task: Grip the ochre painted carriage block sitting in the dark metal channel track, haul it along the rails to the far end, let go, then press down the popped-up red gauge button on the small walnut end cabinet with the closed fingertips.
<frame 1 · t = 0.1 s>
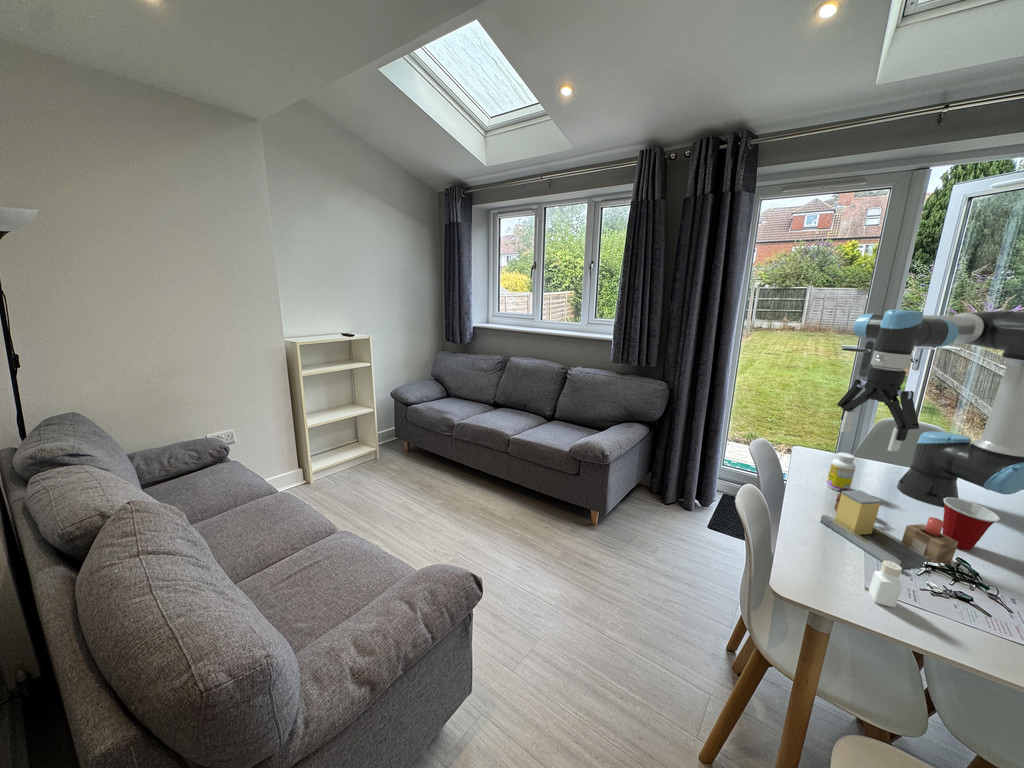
hand: (867, 440, 115), 28 cm above the table, fingers open, 13 cm apart
carriage: (856, 512, 118), point 6 cm above the table, slide at 0.0 cm
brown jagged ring: (849, 512, 130), on the table
gauge button: (934, 526, 107), point 9 cm above the table, slide at 0.0 cm
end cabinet: (924, 556, 109), on the table
plastic cup: (957, 545, 115), on the table
pepper shaker: (880, 601, 93), on the table
track: (870, 542, 114), on the table
supplement bottle: (837, 488, 146), on the table
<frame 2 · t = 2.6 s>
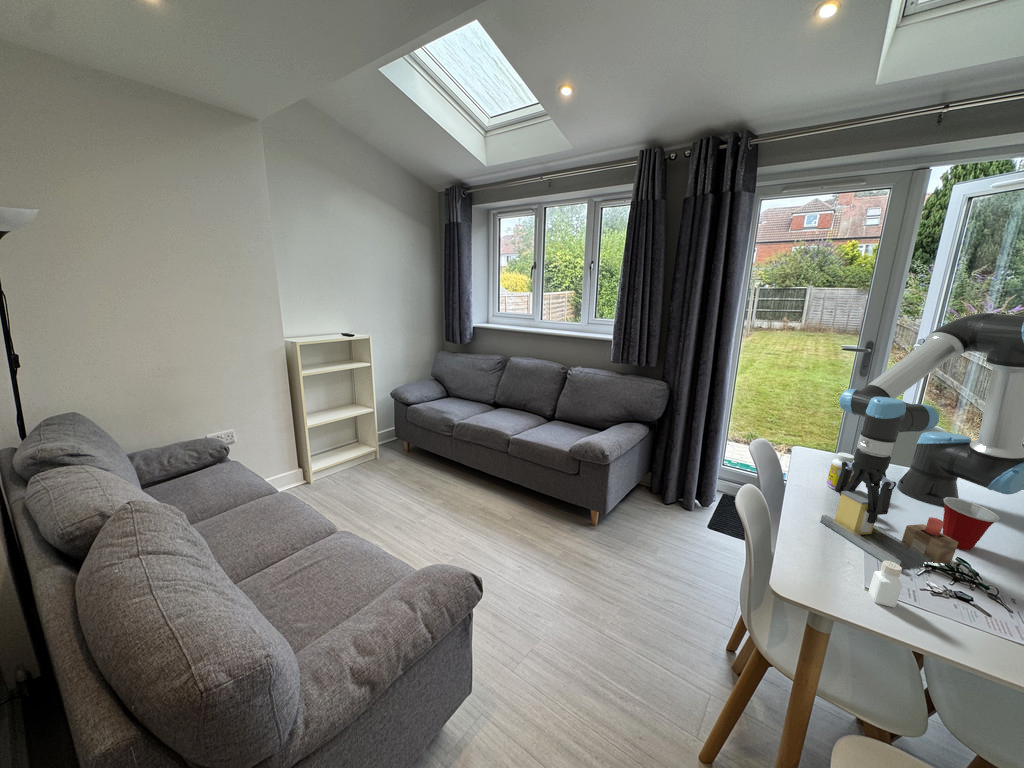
hand: (853, 524, 119), 2 cm above the table, fingers closed on carriage, 6 cm apart
carriage: (856, 512, 118), point 6 cm above the table, slide at 0.0 cm, touching gripper
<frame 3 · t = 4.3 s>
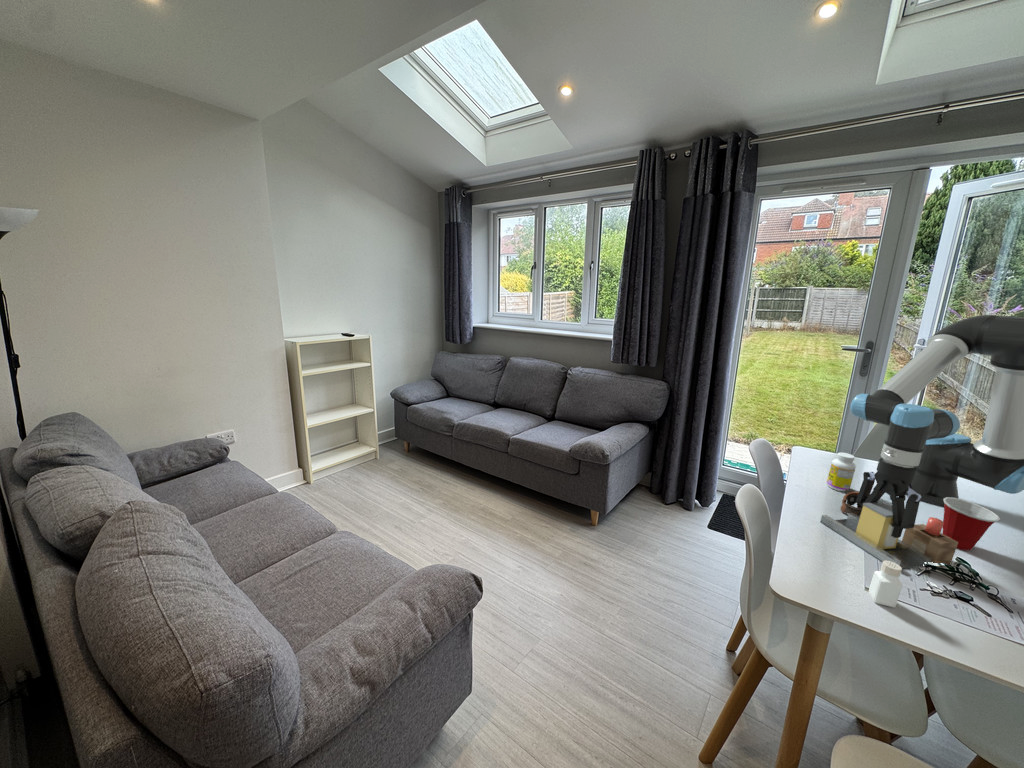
hand: (875, 537, 113), 2 cm above the table, fingers closed on carriage, 6 cm apart
carriage: (879, 525, 112), point 6 cm above the table, slide at 6.5 cm, touching gripper
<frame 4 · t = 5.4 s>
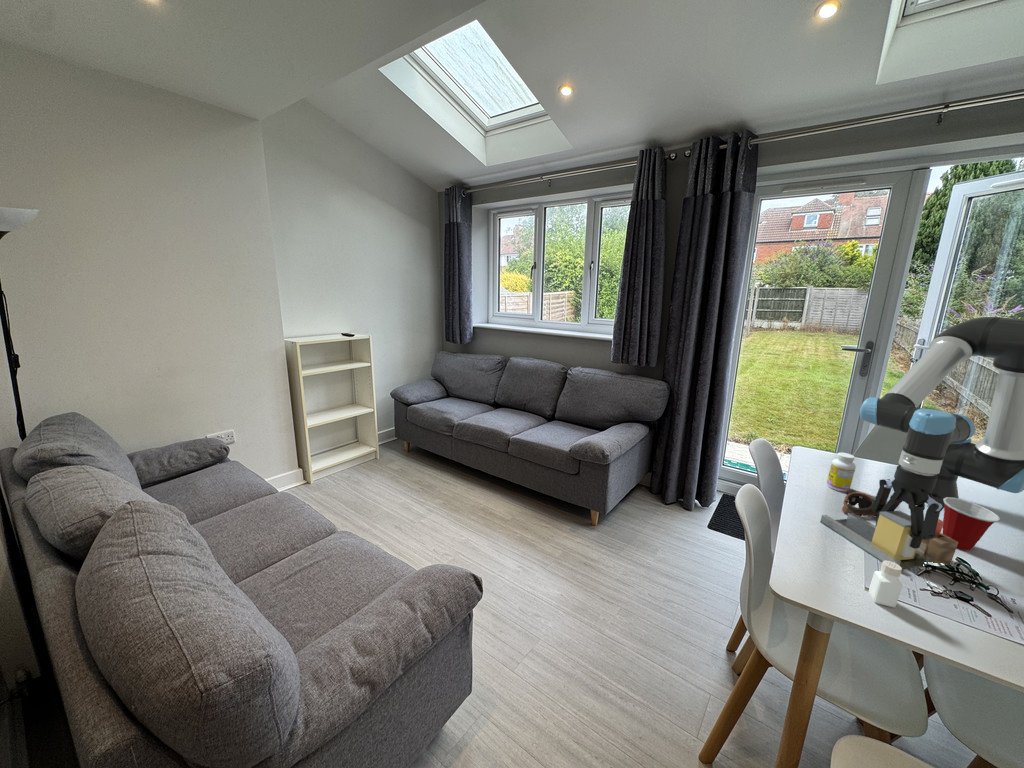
hand: (892, 547, 109), 2 cm above the table, fingers closed on carriage, 6 cm apart
carriage: (896, 535, 108), point 6 cm above the table, slide at 11.0 cm, touching gripper
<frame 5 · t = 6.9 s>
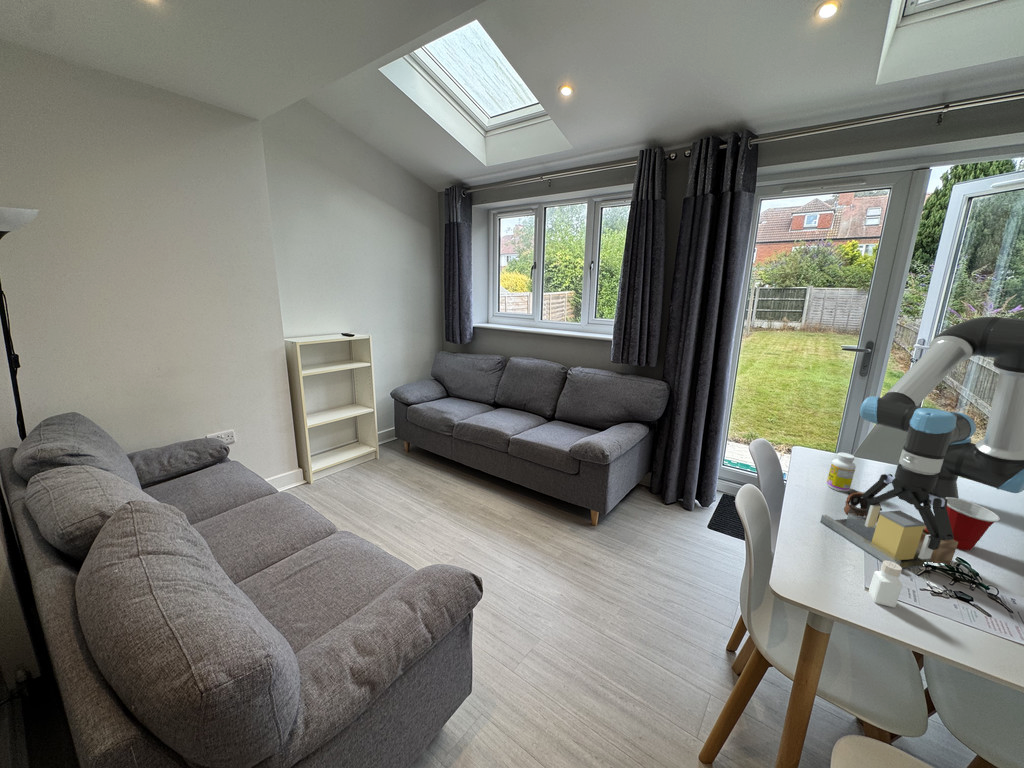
hand: (895, 541, 108), 4 cm above the table, fingers open, 13 cm apart
carriage: (896, 535, 108), point 6 cm above the table, slide at 11.0 cm
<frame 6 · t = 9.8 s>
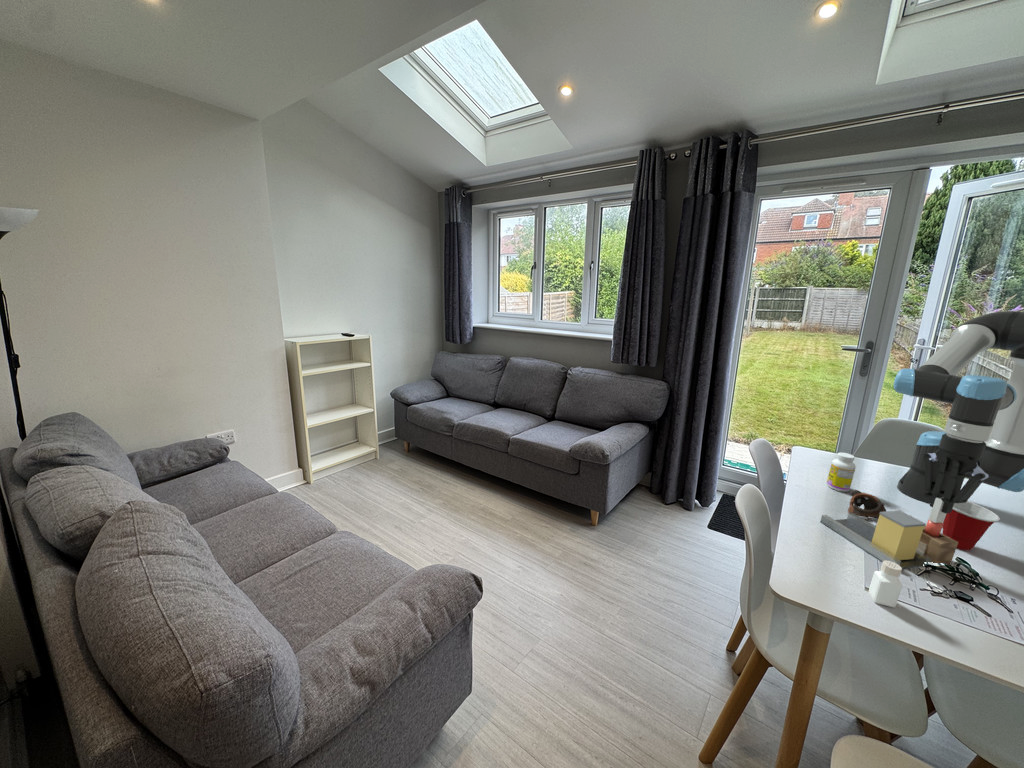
hand: (935, 520, 106), 11 cm above the table, fingers closed
gauge button: (933, 527, 107), point 9 cm above the table, slide at 0.4 cm, touching gripper
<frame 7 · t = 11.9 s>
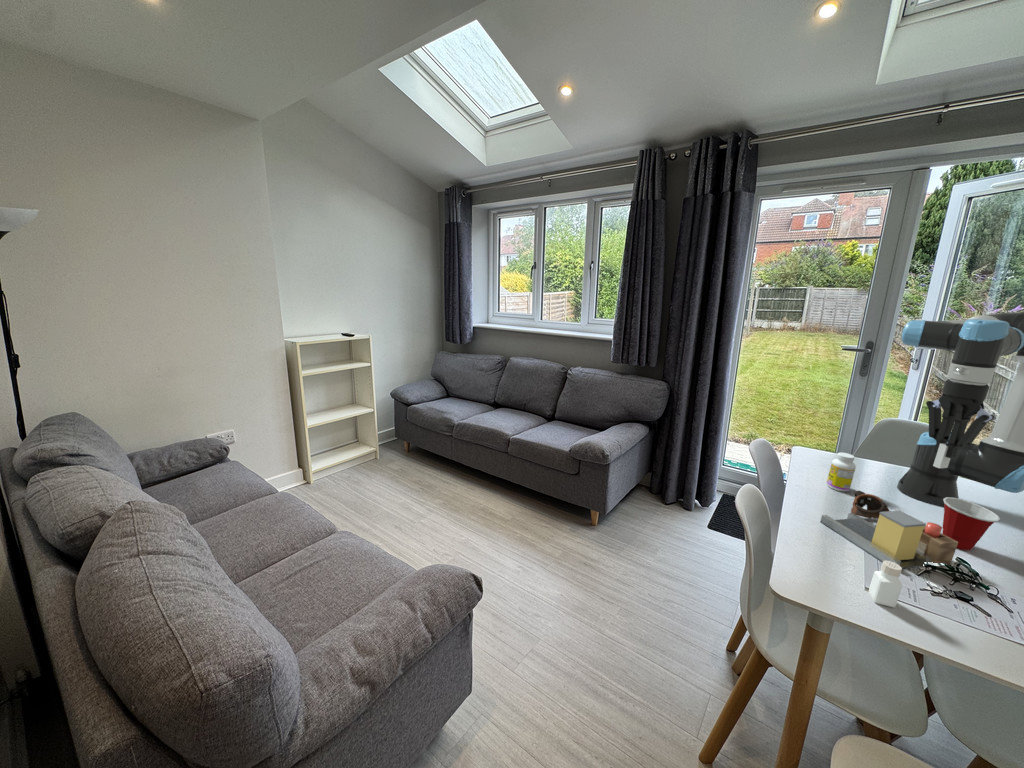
hand: (940, 466, 108), 24 cm above the table, fingers closed
gauge button: (932, 531, 107), point 8 cm above the table, slide at 1.5 cm
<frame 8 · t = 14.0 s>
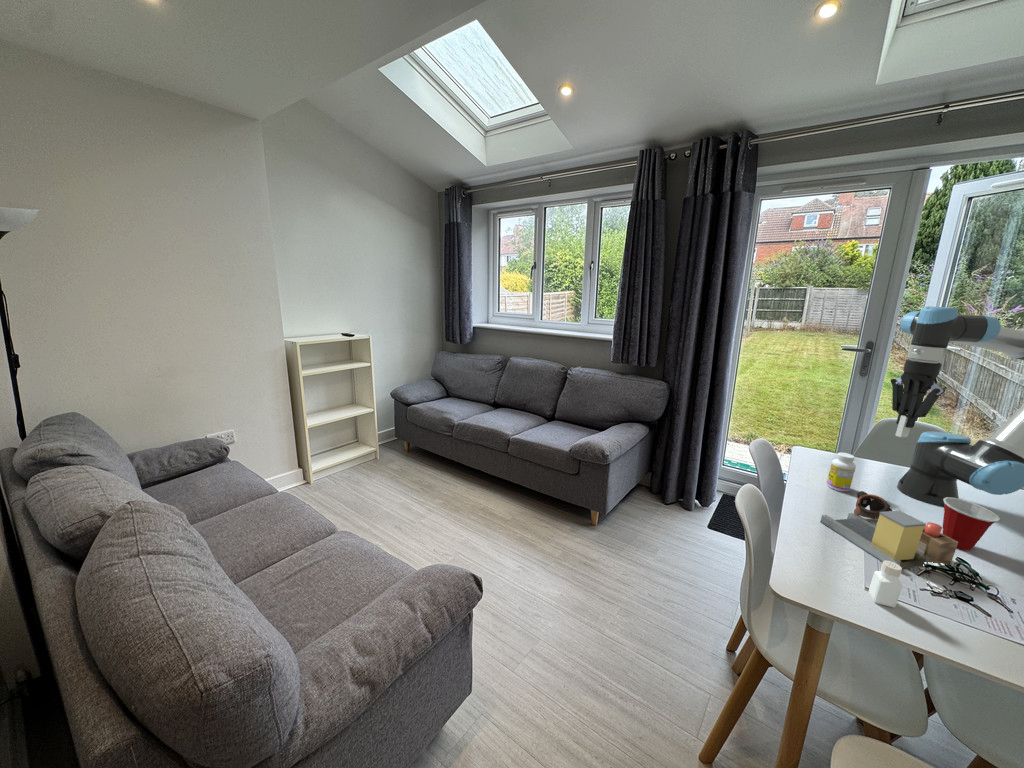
hand: (901, 436, 123), 26 cm above the table, fingers closed
at the end: carriage slide at 11.0 cm; gauge button slide at 1.5 cm; the gripper is holding nothing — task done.
